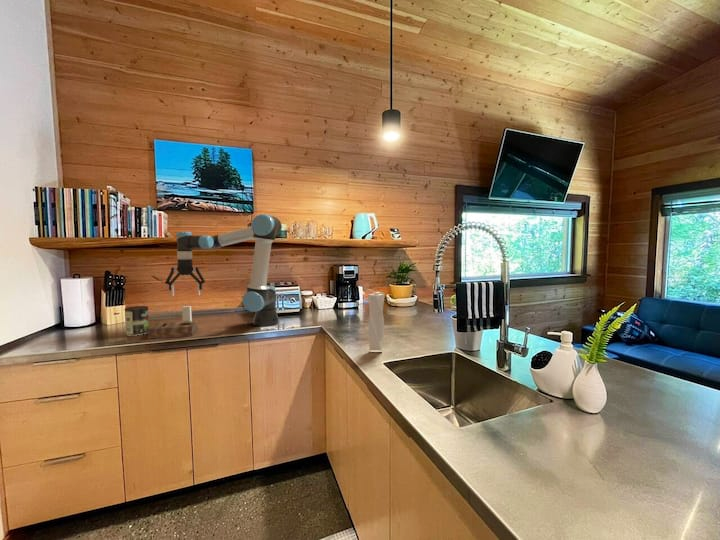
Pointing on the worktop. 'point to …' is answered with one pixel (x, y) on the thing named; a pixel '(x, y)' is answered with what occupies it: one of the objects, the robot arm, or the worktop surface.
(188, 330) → the socket block
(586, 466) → the worktop surface
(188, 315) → the square peg
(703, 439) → the worktop surface
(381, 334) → the skyscraper
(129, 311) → the coffee can
